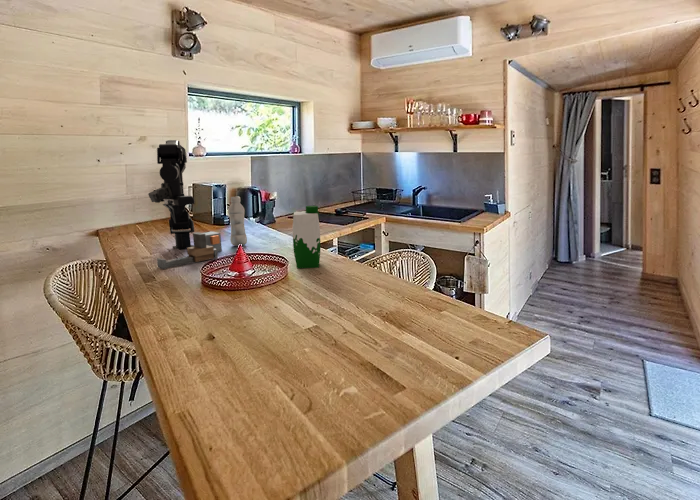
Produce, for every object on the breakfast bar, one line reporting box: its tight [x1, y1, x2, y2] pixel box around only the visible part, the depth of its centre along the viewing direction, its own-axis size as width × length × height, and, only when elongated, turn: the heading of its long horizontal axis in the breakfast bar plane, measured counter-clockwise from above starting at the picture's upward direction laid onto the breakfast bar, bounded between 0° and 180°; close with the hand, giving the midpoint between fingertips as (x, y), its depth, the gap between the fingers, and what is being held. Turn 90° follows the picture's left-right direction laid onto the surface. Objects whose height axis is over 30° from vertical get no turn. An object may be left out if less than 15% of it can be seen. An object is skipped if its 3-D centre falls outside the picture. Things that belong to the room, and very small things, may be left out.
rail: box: [156, 249, 219, 270], centre depth 165 cm, size 4×21×3 cm, turn 138°
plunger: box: [210, 235, 220, 244], centre depth 181 cm, size 7×3×3 cm, turn 48°
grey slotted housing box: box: [202, 231, 223, 252], centre depth 183 cm, size 6×7×7 cm
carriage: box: [186, 231, 215, 263], centre depth 168 cm, size 6×7×9 cm
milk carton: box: [292, 205, 322, 269], centre depth 155 cm, size 9×9×20 cm
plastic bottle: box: [227, 196, 248, 247], centre depth 190 cm, size 6×7×20 cm
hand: (176, 222), depth 171 cm, fingers closed
